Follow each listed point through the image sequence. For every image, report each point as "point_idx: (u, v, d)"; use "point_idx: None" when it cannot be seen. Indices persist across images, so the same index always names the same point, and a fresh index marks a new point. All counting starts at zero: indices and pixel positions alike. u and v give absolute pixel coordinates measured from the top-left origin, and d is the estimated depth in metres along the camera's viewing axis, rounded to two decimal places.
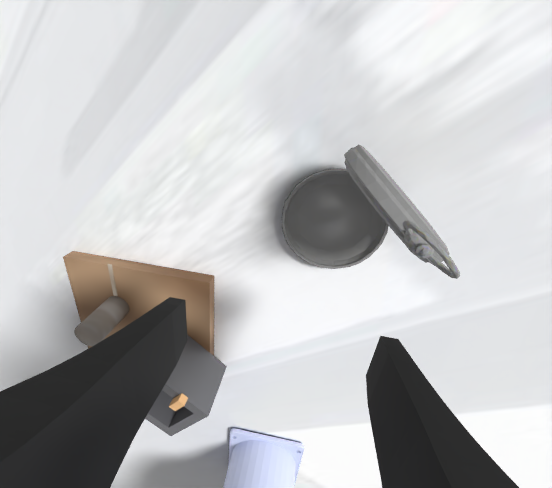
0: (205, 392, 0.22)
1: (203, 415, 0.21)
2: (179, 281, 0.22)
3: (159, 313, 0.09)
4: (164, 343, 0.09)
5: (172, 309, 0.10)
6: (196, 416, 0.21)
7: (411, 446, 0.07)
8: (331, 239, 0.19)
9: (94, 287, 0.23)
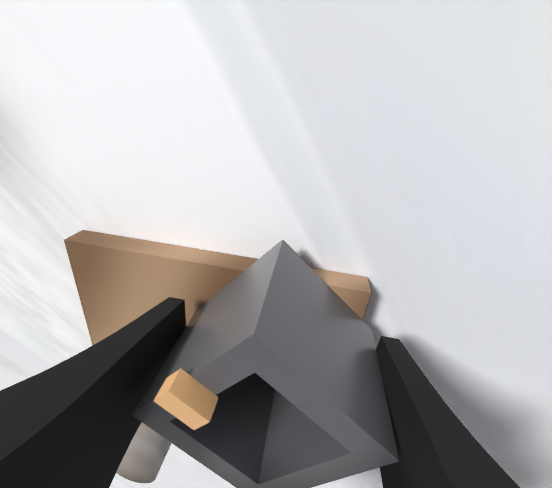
0: (240, 312, 0.07)
1: (258, 349, 0.06)
2: (85, 290, 0.12)
3: (158, 313, 0.09)
4: (163, 343, 0.09)
5: (171, 309, 0.10)
6: (268, 368, 0.06)
7: (412, 446, 0.07)
8: None
9: None
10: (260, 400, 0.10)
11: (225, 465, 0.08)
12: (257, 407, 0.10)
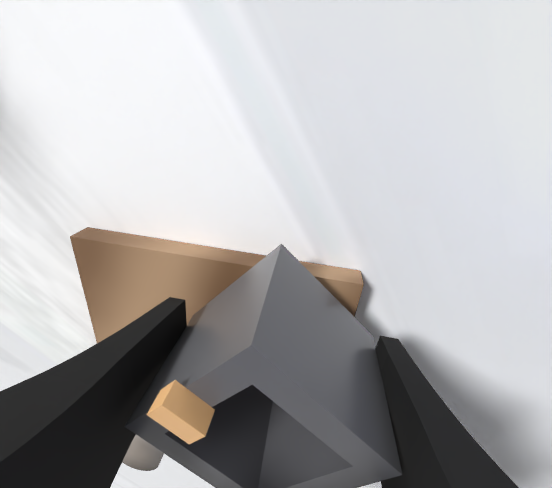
0: (237, 321, 0.07)
1: (256, 360, 0.06)
2: (89, 285, 0.13)
3: (159, 313, 0.09)
4: (164, 343, 0.09)
5: (172, 309, 0.10)
6: (266, 380, 0.06)
7: (410, 446, 0.07)
8: None
9: None
10: (258, 408, 0.10)
11: (222, 477, 0.08)
12: (255, 416, 0.10)
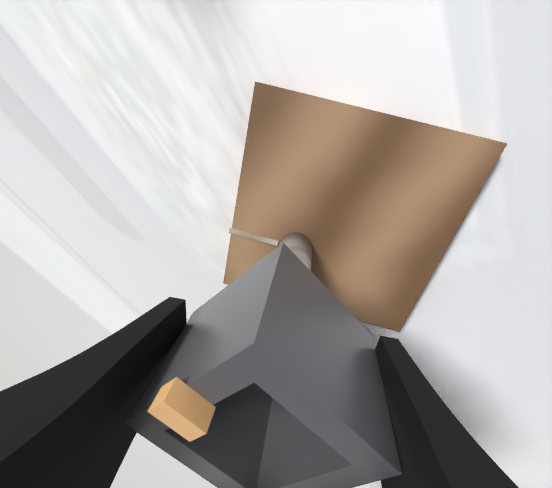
0: (239, 319, 0.07)
1: (259, 358, 0.06)
2: (253, 135, 0.15)
3: (159, 313, 0.09)
4: (164, 343, 0.09)
5: (172, 309, 0.10)
6: (268, 379, 0.06)
7: (411, 446, 0.07)
8: None
9: None
10: (258, 406, 0.10)
11: (221, 475, 0.08)
12: (254, 414, 0.10)
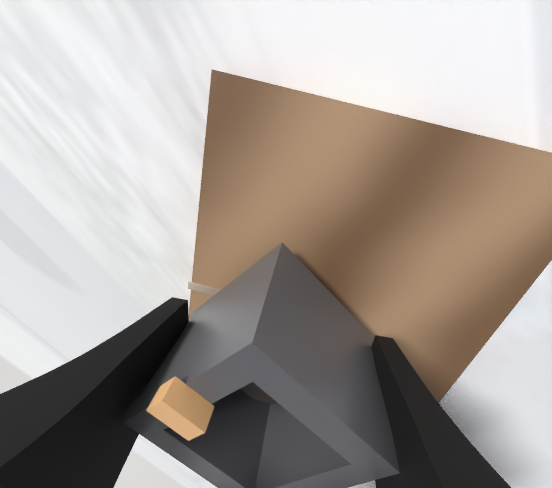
0: (238, 318, 0.07)
1: (257, 357, 0.06)
2: (214, 154, 0.09)
3: (162, 313, 0.09)
4: (167, 343, 0.09)
5: (174, 309, 0.10)
6: (266, 378, 0.06)
7: (403, 444, 0.07)
8: None
9: None
10: (257, 406, 0.10)
11: (220, 474, 0.08)
12: (254, 414, 0.10)
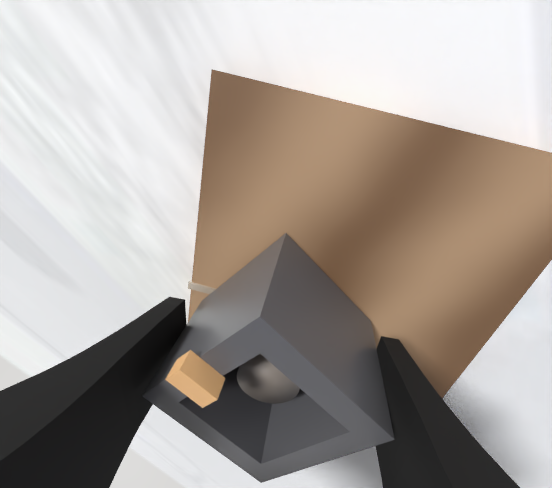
0: (246, 299, 0.08)
1: (264, 330, 0.06)
2: (214, 154, 0.09)
3: (158, 313, 0.09)
4: (163, 343, 0.09)
5: (171, 309, 0.10)
6: (272, 350, 0.07)
7: (412, 446, 0.07)
8: None
9: None
10: None
11: (230, 445, 0.09)
12: None
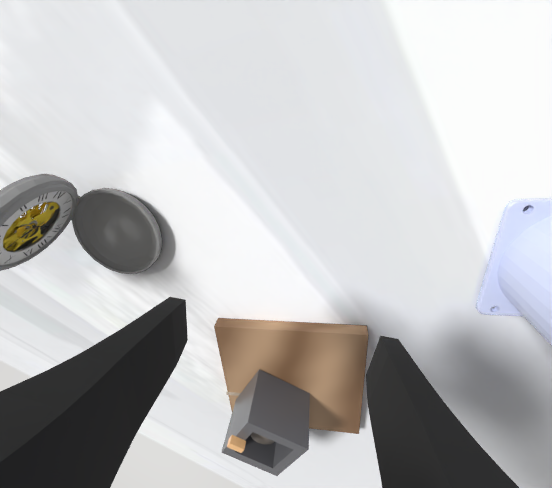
0: (246, 410, 0.22)
1: (250, 425, 0.20)
2: (222, 348, 0.24)
3: (159, 313, 0.09)
4: (164, 343, 0.09)
5: (172, 309, 0.10)
6: (256, 430, 0.21)
7: (411, 446, 0.07)
8: (139, 228, 0.21)
9: None
10: None
11: (258, 463, 0.23)
12: None
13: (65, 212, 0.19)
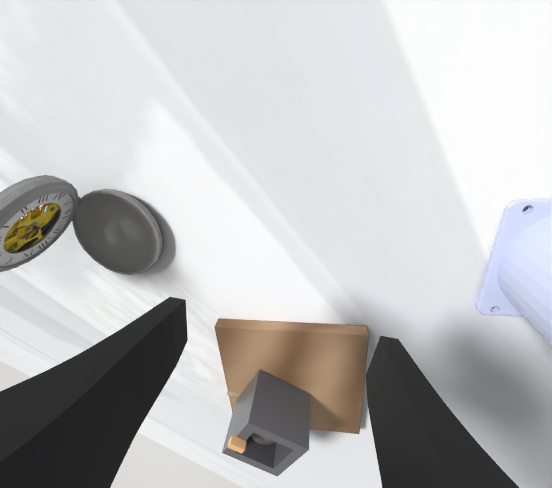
0: (246, 411, 0.22)
1: (251, 426, 0.20)
2: (223, 349, 0.24)
3: (159, 313, 0.09)
4: (164, 343, 0.09)
5: (172, 309, 0.10)
6: (256, 430, 0.21)
7: (411, 446, 0.07)
8: (139, 229, 0.21)
9: None
10: None
11: (259, 463, 0.23)
12: None
13: (65, 213, 0.19)
